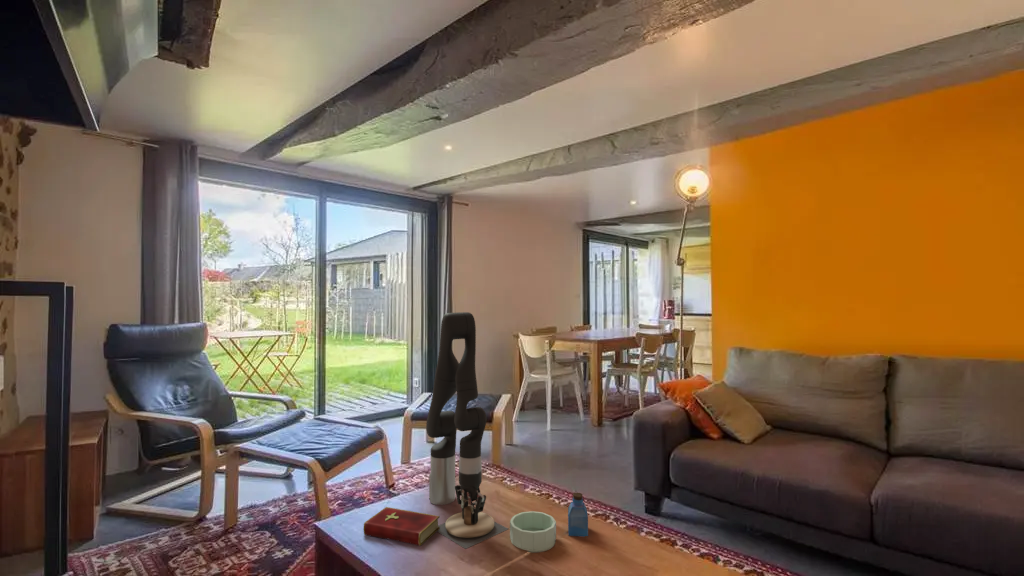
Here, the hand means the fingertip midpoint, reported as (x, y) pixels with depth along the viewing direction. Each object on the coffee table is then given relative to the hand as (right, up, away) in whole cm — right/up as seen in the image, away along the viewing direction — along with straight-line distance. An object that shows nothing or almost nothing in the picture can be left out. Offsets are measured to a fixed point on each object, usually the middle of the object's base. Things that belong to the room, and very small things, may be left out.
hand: (470, 520), depth 157 cm
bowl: (+20, -3, -7) cm, 22 cm away
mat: (0, -3, 0) cm, 3 cm away
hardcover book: (-22, -3, -2) cm, 22 cm away
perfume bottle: (+35, -3, -1) cm, 36 cm away
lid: (0, -1, 0) cm, 1 cm away
